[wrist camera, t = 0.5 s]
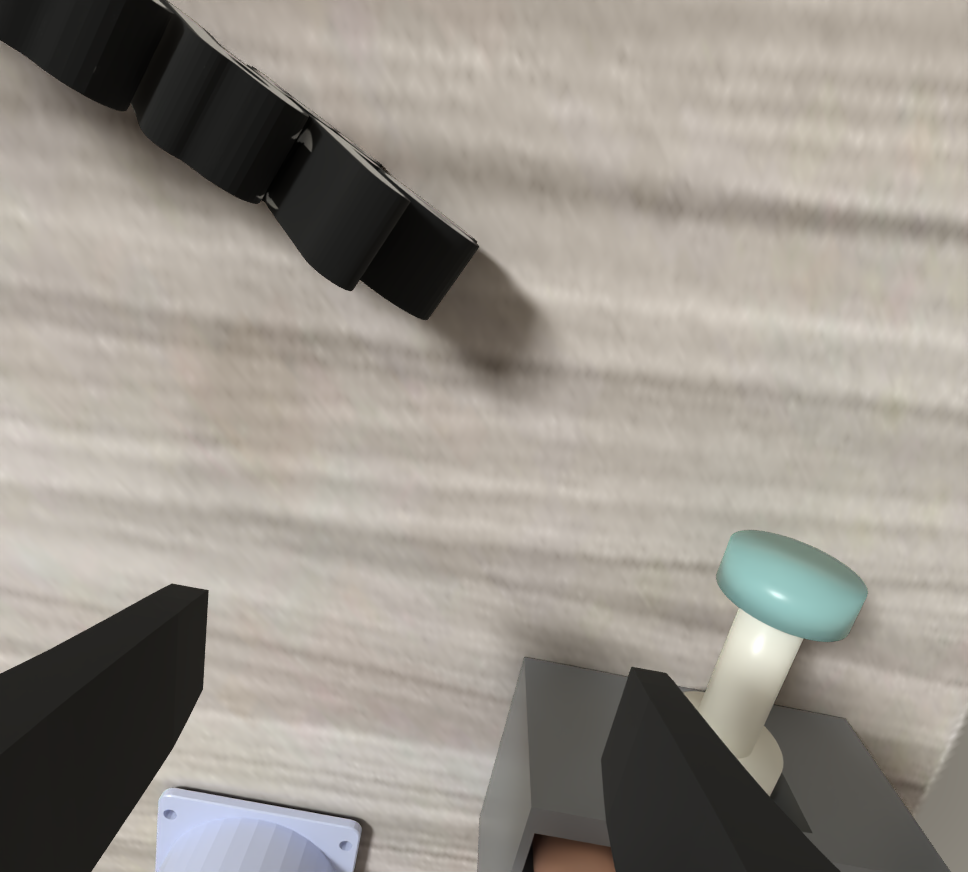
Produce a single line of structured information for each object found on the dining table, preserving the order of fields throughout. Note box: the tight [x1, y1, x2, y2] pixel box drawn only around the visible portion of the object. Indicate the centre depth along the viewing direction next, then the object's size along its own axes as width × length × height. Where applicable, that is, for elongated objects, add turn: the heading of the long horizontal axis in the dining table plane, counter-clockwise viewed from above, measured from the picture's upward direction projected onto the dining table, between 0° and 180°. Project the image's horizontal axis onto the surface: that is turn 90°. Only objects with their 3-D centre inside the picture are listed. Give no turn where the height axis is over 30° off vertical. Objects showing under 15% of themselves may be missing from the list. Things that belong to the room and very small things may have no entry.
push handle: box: [683, 530, 868, 796], centre depth 20 cm, size 14×4×4 cm, turn 168°
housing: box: [477, 657, 950, 872], centre depth 21 cm, size 8×12×6 cm, turn 78°
